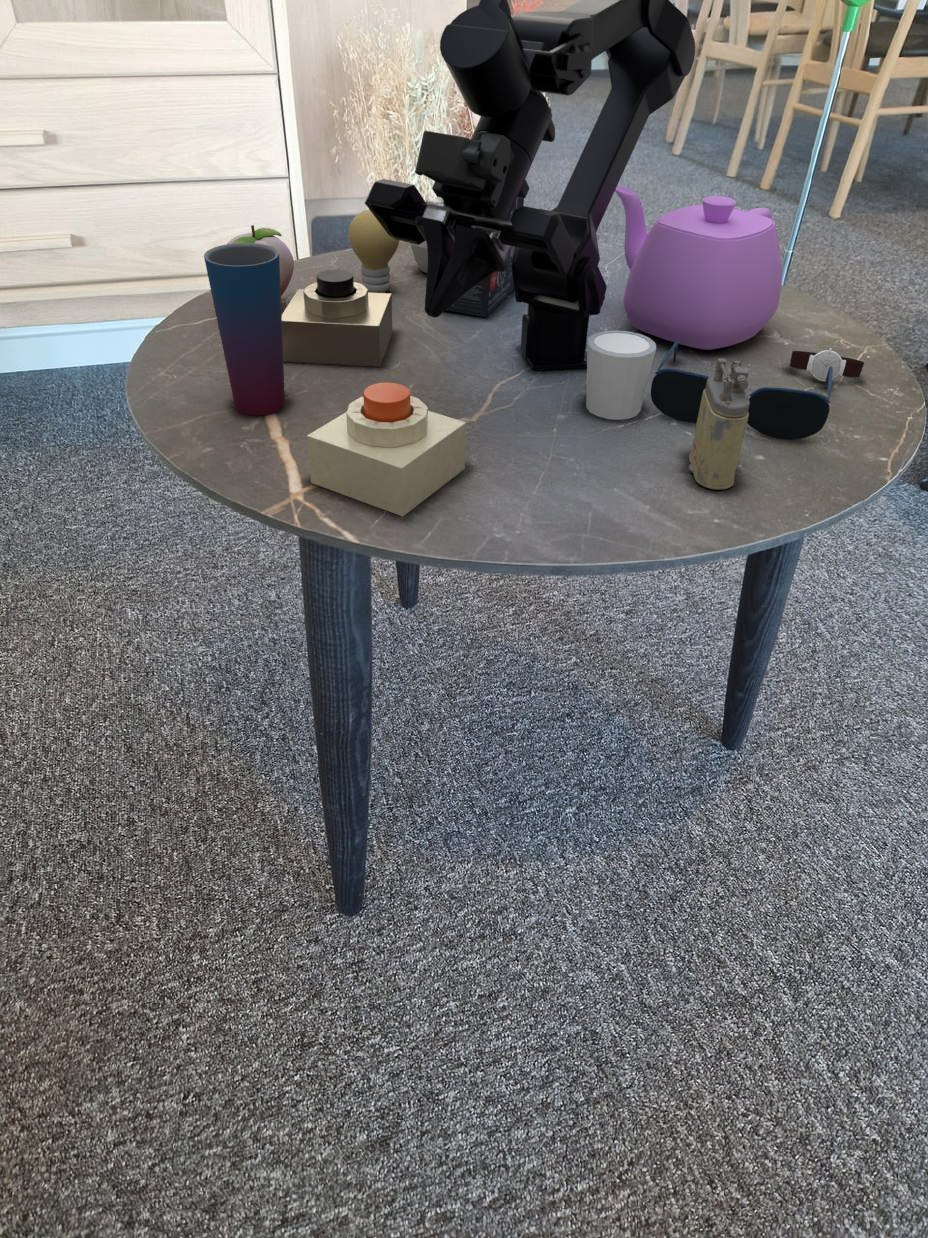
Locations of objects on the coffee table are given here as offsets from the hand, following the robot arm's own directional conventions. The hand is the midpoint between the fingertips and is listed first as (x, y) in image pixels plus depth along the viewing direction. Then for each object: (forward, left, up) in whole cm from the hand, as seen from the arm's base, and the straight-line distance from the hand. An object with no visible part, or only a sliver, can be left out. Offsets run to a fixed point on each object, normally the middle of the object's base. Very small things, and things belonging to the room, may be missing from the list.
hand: (430, 314), depth 81 cm
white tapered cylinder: (-20, -6, -13) cm, 25 cm away
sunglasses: (-34, -6, -13) cm, 37 cm away
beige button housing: (+4, +5, -13) cm, 14 cm away
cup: (+16, -11, -13) cm, 23 cm away
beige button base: (+7, -25, -13) cm, 29 cm away
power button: (+4, +5, -7) cm, 9 cm away
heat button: (+7, -25, -7) cm, 27 cm away
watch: (-46, -11, -13) cm, 49 cm away
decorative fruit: (+16, -38, -13) cm, 43 cm away
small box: (-12, -39, -13) cm, 43 cm away
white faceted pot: (-8, -50, -13) cm, 52 cm away
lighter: (-25, +8, -13) cm, 29 cm away
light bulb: (+1, -43, -13) cm, 45 cm away
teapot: (-36, -26, -13) cm, 46 cm away
